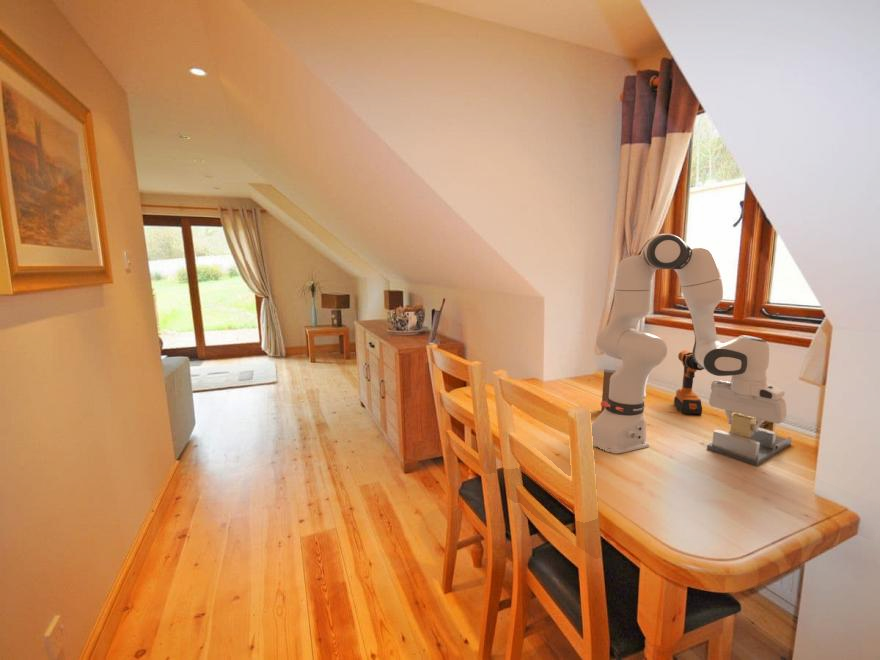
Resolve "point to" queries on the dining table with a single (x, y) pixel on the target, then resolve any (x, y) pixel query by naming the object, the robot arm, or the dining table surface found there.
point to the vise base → (761, 454)
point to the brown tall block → (606, 385)
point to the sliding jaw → (763, 434)
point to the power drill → (688, 386)
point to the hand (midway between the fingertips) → (743, 427)
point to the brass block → (742, 424)
